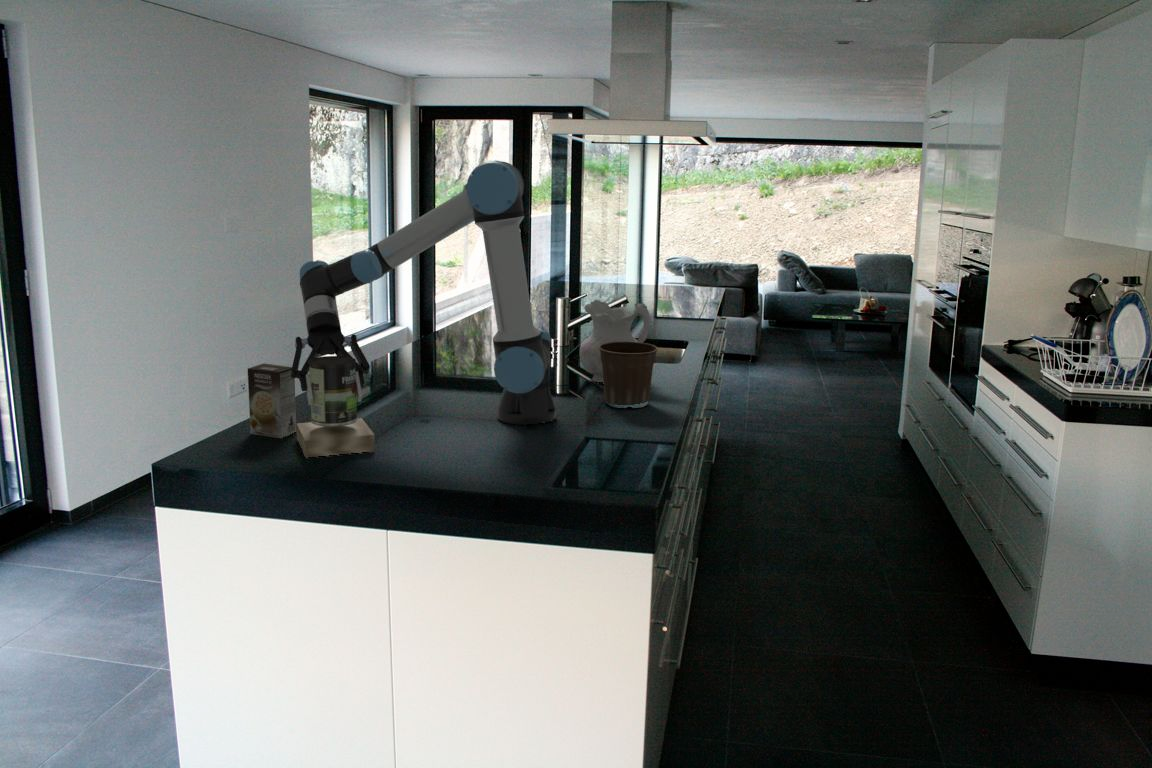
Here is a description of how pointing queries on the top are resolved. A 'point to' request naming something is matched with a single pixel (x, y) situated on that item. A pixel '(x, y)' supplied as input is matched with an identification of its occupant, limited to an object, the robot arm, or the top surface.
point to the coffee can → (333, 390)
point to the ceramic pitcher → (609, 332)
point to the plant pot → (627, 371)
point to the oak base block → (335, 439)
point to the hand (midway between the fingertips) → (335, 400)
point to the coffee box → (271, 400)
